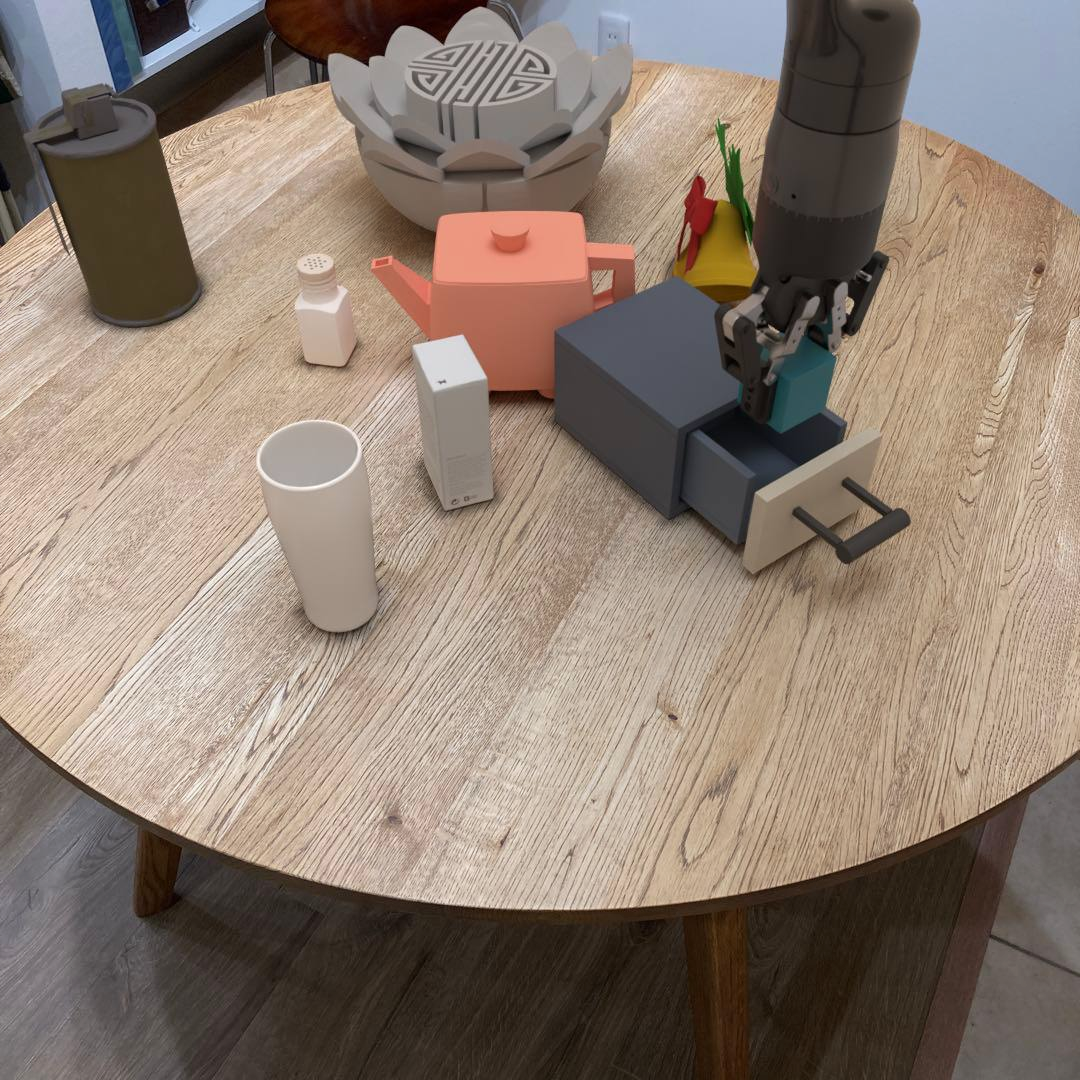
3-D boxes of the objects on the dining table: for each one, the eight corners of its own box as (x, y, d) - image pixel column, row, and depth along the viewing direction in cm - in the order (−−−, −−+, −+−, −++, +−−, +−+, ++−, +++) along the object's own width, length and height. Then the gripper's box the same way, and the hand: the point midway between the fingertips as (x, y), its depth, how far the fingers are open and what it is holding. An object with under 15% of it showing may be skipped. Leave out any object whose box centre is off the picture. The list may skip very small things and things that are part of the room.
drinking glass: (316, 658, 77) (276, 505, 66) (281, 594, 81) (238, 440, 70) (405, 620, 79) (381, 465, 68) (366, 559, 83) (338, 404, 72)
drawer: (921, 550, 82) (947, 477, 76) (810, 623, 77) (829, 551, 72) (740, 415, 93) (751, 343, 87) (633, 472, 88) (638, 399, 83)
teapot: (380, 412, 95) (359, 269, 85) (391, 324, 104) (373, 185, 93) (636, 407, 95) (646, 264, 85) (626, 320, 104) (634, 181, 93)
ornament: (674, 281, 117) (639, 137, 110) (753, 258, 115) (722, 111, 108) (689, 342, 98) (647, 174, 92) (783, 317, 97) (748, 144, 90)
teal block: (825, 409, 78) (837, 356, 75) (780, 434, 76) (790, 381, 73) (780, 378, 81) (790, 326, 77) (736, 401, 79) (744, 349, 75)
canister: (178, 254, 112) (122, 56, 98) (219, 303, 106) (165, 99, 92) (72, 290, 108) (-3, 88, 94) (108, 342, 102) (34, 135, 88)
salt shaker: (345, 370, 99) (329, 278, 92) (303, 364, 99) (284, 273, 93) (359, 343, 102) (345, 252, 95) (318, 338, 102) (300, 248, 95)
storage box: (787, 453, 91) (805, 362, 84) (668, 520, 86) (678, 428, 79) (668, 364, 99) (676, 275, 92) (554, 420, 94) (553, 330, 87)
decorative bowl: (398, 127, 131) (384, -6, 120) (645, 158, 125) (653, 21, 114) (291, 265, 111) (262, 121, 100) (579, 309, 105) (581, 161, 94)
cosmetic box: (496, 499, 87) (489, 379, 79) (444, 513, 86) (431, 392, 78) (472, 451, 91) (464, 331, 83) (422, 463, 90) (409, 343, 82)
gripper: (783, 246, 61) (744, 473, 73) (953, 168, 67) (891, 391, 79) (692, 191, 65) (670, 415, 78) (859, 122, 71) (814, 341, 83)
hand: (782, 402), depth 78 cm, fingers closed on teal block, 4 cm apart
